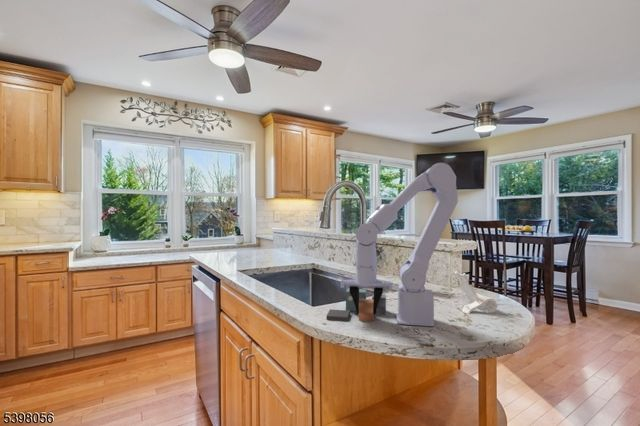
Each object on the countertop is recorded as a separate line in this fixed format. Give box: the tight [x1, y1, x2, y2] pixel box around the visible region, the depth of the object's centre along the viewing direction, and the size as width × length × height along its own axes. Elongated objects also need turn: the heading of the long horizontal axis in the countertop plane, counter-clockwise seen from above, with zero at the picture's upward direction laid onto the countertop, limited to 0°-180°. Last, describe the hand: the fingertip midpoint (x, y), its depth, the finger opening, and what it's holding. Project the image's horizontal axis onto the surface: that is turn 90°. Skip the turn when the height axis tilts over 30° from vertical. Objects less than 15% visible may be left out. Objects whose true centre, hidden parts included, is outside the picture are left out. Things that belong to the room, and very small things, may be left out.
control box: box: [345, 287, 367, 313], centre depth 99 cm, size 6×5×6 cm
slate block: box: [371, 293, 387, 316], centre depth 97 cm, size 4×4×5 cm
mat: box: [326, 308, 351, 322], centre depth 93 cm, size 6×6×1 cm
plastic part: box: [454, 270, 498, 315], centre depth 100 cm, size 8×10×12 cm
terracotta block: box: [358, 298, 375, 322], centre depth 91 cm, size 4×4×5 cm
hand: (366, 313), depth 91 cm, fingers closed on terracotta block, 4 cm apart
